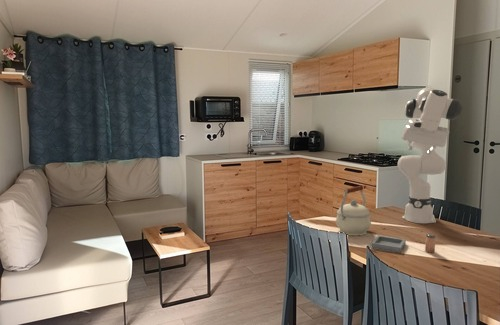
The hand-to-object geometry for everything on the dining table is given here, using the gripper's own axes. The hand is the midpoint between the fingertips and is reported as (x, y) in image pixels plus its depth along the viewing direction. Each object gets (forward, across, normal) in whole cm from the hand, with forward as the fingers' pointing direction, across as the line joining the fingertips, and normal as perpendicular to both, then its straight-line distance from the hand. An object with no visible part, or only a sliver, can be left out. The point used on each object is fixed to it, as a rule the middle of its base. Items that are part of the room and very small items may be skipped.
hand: (419, 151), depth 185 cm
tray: (+44, +6, +18) cm, 48 cm away
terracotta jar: (+40, -10, +24) cm, 48 cm away
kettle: (+52, +18, -3) cm, 55 cm away
